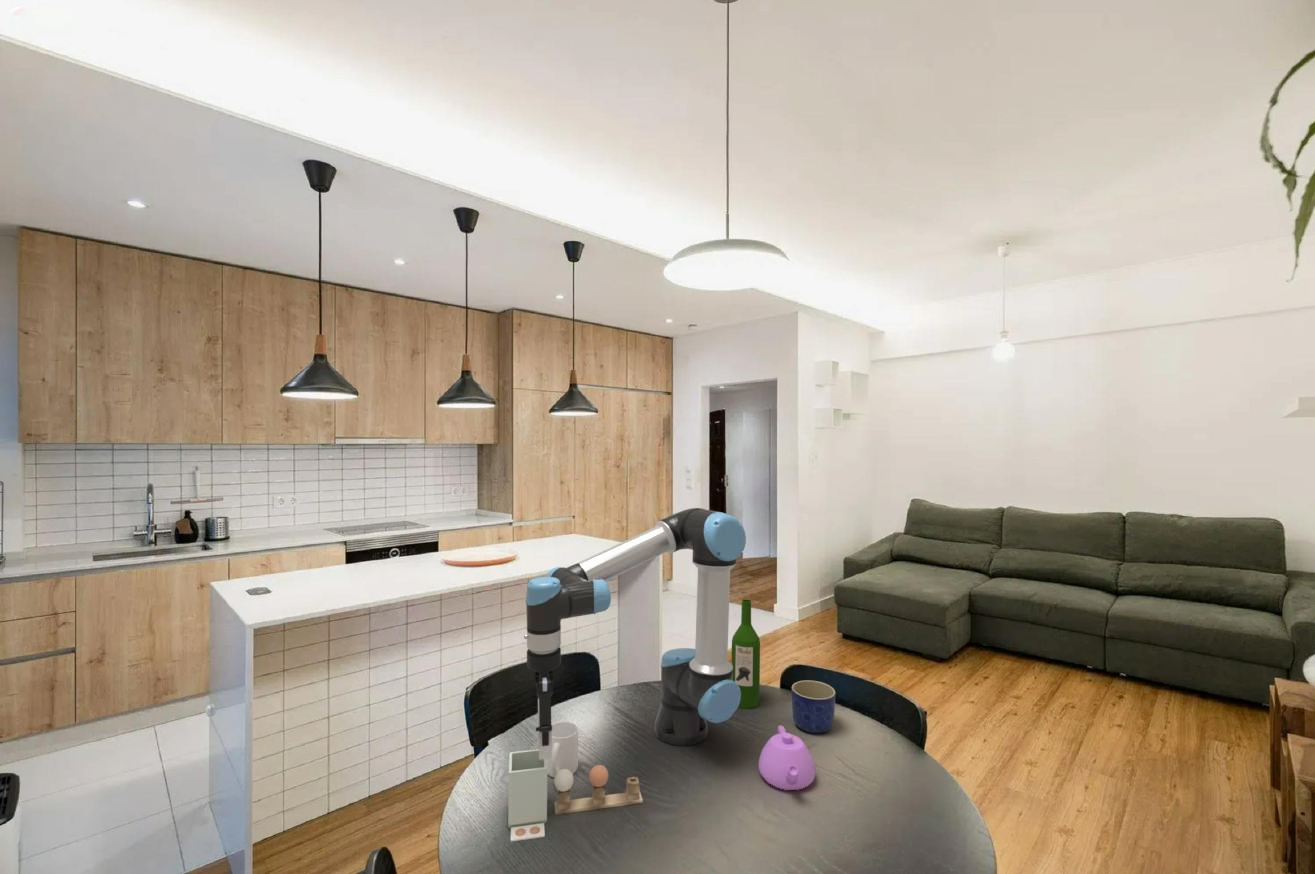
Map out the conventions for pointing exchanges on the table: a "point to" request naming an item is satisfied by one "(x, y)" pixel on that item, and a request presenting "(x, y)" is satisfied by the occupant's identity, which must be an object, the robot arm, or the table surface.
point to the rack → (599, 798)
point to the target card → (527, 832)
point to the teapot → (786, 762)
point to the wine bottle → (746, 659)
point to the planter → (813, 706)
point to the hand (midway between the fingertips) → (544, 741)
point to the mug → (563, 748)
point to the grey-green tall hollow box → (527, 789)
